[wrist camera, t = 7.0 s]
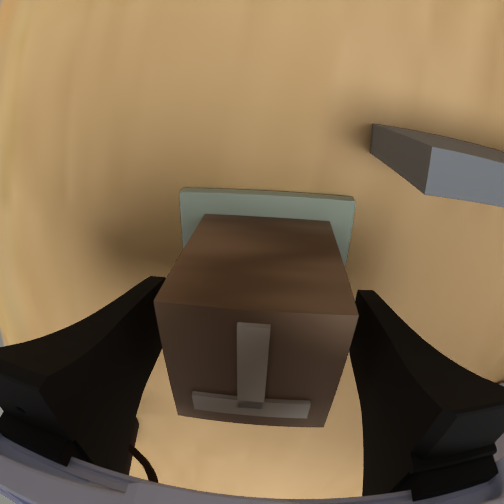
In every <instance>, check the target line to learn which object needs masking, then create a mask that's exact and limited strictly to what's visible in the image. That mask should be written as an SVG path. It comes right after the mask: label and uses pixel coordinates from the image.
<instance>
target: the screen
mask: <svg viewBox="0 0 504 504" xmlns="http://www.w3.org/2000/svg"><path fill="white" fill-rule="evenodd" d="M370 153H371V154H372V155H374V156H375V157H376V158H378V159H379V160H380V161H382V162H383V163H385V164H386V165H387V166H389V167H390V168H391V169H393V170H394V171H395V172H397V173H398V174H399V175H401V176H402V177H403V178H404V179H406V180H407V181H408V182H410V183H411V184H412V185H413V186H415V187H416V188H417V189H418V190H420V191H421V192H422V193H423V194H424V195H431V196H439V197H445V198H452V199H458V200H465V201H471V202H477V203H483V204H488V205H494V206H499V207H504V152H502V151H499V150H495V149H492V148H488V147H485V146H481V145H477V144H473V143H469V142H465V141H461V140H457V139H453V138H448V137H444V136H439V135H434V134H430V133H425V132H419V131H414V130H409V129H403V128H397V127H391V126H385V125H378V124H373V128H372V139H371V149H370Z"/></svg>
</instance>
